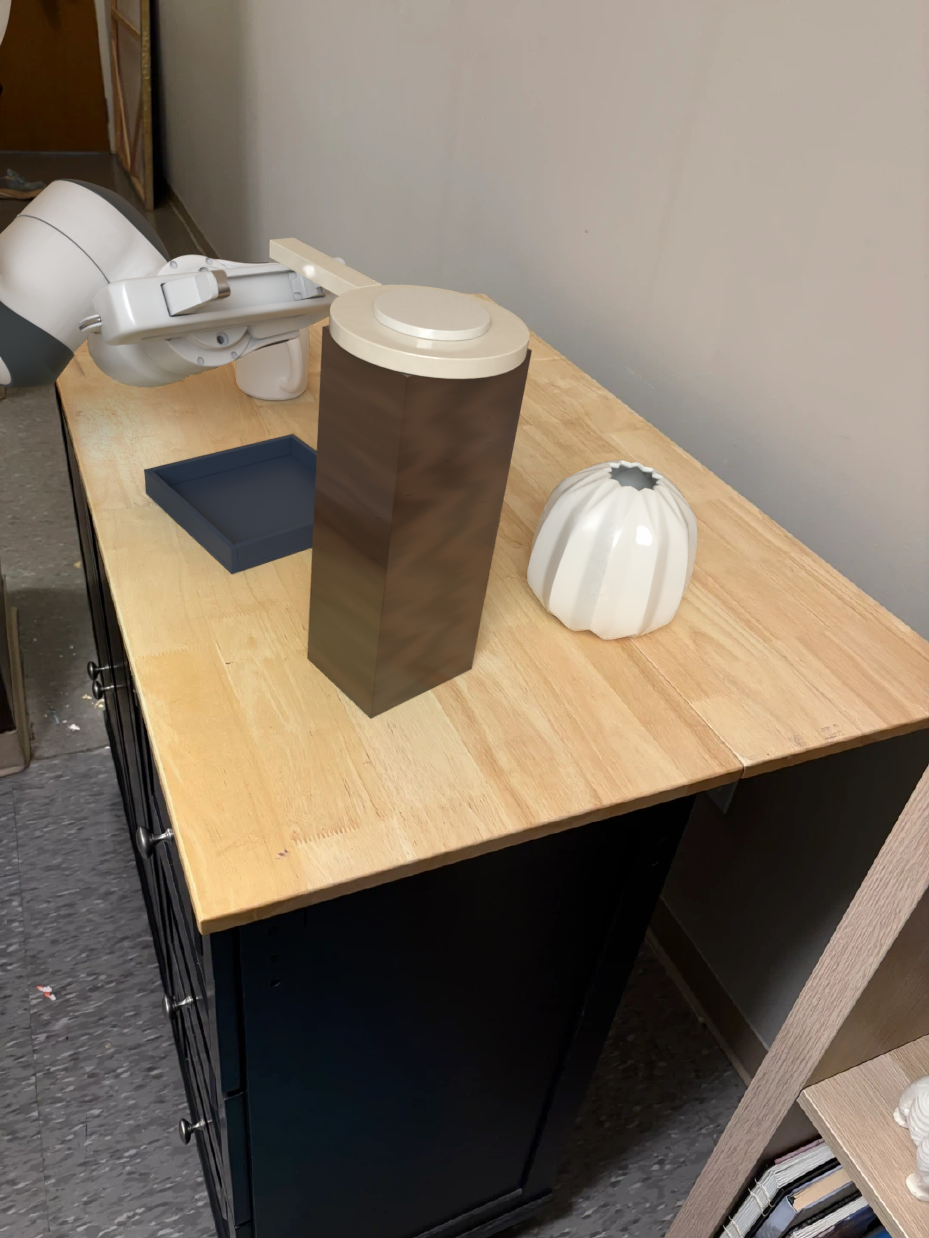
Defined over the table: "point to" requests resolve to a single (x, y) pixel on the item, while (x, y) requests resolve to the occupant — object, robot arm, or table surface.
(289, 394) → the mug
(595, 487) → the vase
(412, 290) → the beige frying pan
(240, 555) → the tray
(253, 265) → the robot arm
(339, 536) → the stand
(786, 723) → the table surface
